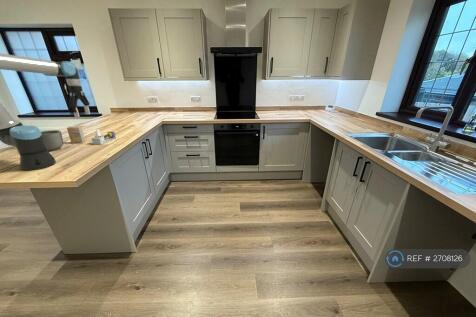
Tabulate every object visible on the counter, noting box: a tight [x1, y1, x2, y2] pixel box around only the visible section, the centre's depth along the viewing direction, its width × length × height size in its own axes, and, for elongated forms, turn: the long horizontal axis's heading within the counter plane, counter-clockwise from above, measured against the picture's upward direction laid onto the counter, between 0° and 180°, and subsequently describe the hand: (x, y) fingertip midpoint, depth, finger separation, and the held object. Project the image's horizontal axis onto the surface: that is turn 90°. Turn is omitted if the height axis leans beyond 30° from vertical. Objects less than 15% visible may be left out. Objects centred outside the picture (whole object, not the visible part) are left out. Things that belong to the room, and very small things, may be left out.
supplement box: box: [66, 126, 86, 144], centre depth 157 cm, size 8×5×13 cm, turn 105°
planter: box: [41, 129, 64, 152], centre depth 141 cm, size 14×14×13 cm
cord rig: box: [91, 131, 117, 146], centre depth 163 cm, size 20×8×6 cm, turn 175°
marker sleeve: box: [94, 129, 106, 142], centre depth 157 cm, size 3×5×9 cm, turn 85°
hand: (82, 115), depth 146 cm, fingers open, 13 cm apart
